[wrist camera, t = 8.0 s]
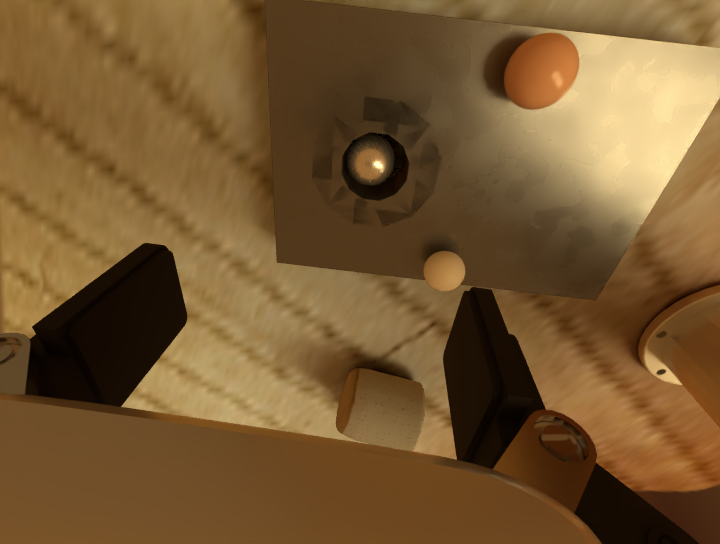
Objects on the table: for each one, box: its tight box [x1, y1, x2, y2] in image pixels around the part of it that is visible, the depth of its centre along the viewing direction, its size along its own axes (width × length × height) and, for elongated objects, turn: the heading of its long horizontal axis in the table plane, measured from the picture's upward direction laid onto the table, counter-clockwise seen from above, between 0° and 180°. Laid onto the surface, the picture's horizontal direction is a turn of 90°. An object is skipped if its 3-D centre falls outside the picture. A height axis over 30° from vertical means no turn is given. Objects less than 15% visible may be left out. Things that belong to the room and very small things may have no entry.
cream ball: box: [424, 251, 465, 291], centre depth 25 cm, size 3×3×3 cm
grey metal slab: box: [265, 0, 720, 300], centre depth 24 cm, size 26×17×4 cm, turn 84°
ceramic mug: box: [336, 368, 425, 451], centre depth 38 cm, size 11×8×8 cm
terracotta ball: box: [504, 32, 580, 110], centre depth 18 cm, size 4×4×4 cm
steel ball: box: [346, 134, 395, 186], centre depth 25 cm, size 4×4×4 cm
